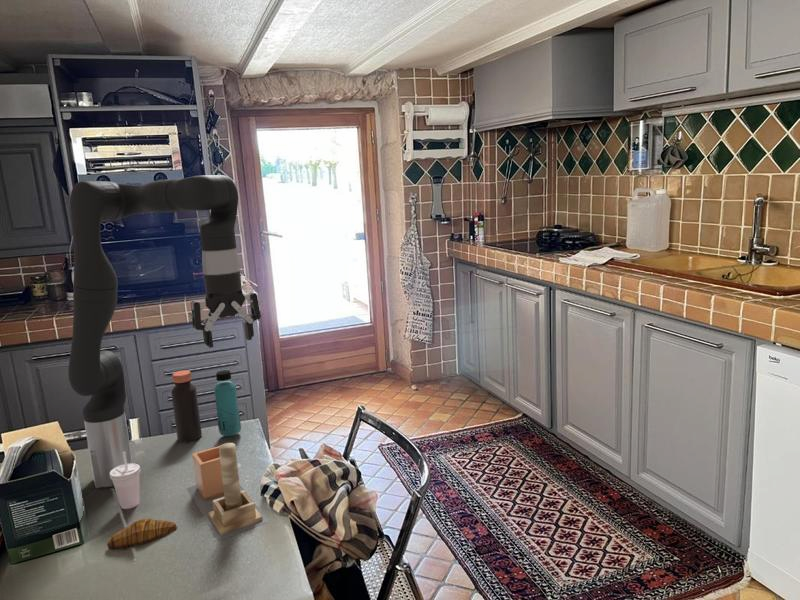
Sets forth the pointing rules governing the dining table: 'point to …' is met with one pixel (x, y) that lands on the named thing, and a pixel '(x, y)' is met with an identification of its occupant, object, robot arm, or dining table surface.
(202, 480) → the deep cup
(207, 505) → the slate board
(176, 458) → the dining table surface
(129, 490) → the smoothie
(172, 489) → the dining table surface
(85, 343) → the robot arm
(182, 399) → the vinegar
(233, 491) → the dowel
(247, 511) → the short stand
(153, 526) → the croissant
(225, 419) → the beverage bottle
